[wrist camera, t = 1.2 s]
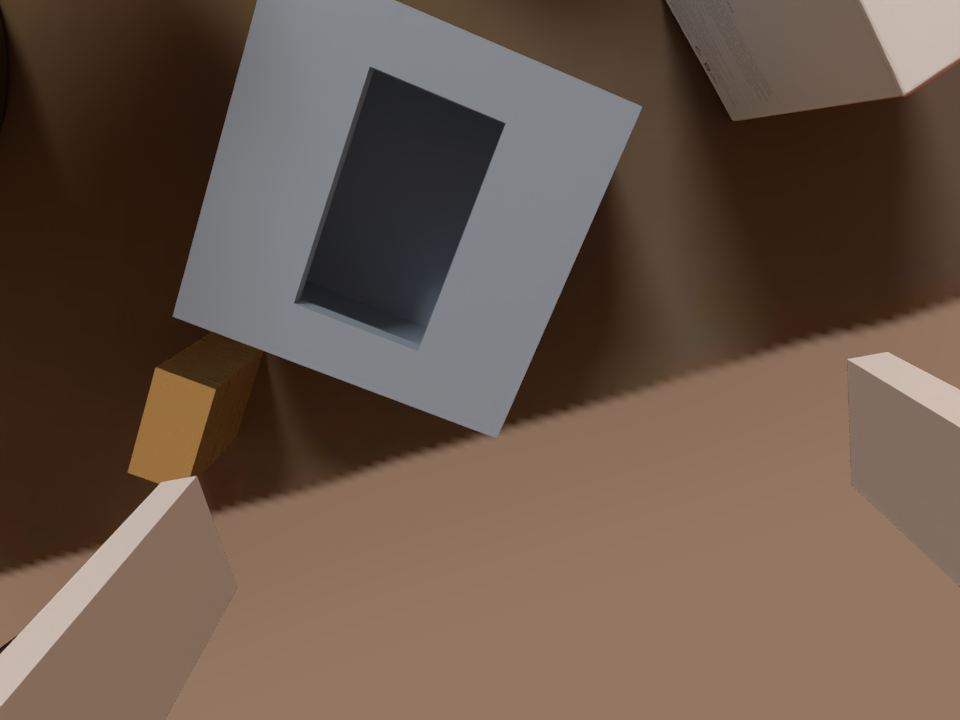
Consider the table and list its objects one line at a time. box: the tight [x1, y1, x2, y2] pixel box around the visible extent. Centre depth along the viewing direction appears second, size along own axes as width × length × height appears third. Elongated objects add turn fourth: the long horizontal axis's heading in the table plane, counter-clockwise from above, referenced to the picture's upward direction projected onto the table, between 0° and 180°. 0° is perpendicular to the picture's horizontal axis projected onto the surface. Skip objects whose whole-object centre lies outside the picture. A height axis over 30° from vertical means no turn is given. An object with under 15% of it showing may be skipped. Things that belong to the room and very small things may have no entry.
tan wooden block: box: [128, 332, 264, 484], centre depth 31 cm, size 2×5×6 cm, turn 158°
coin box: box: [173, 0, 642, 438], centre depth 27 cm, size 12×12×9 cm
